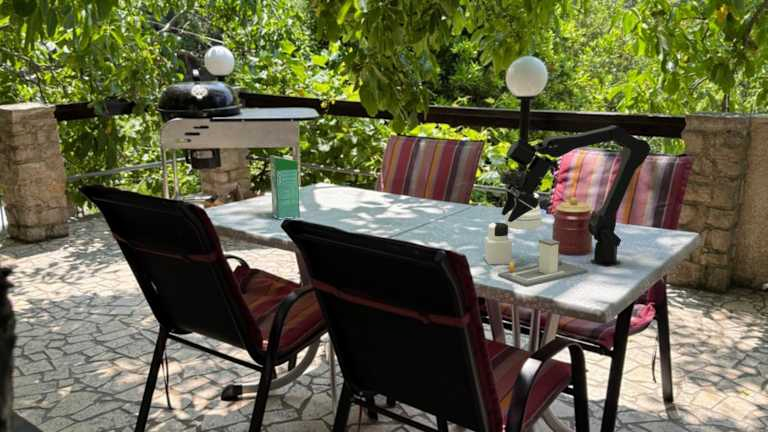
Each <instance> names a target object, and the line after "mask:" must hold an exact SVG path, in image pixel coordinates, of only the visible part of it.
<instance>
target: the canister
mask: <svg viewBox="0 0 768 432" xmlns="http://www.w3.org/2000/svg"><path fill="white" fill-rule="evenodd" d="M555 210H556V211H554V212H553V213H552V216H553V218H554V219H553V223H552V234H551V235H552V240H555V241H559V242H560V243H559V244H558V254H562V255H570V256H580V255H581V256H582V255H588V254H590V253H591V252H592V251H593V250H592V249H593V245H594V243H593V235H592V234H591V233H590V232H589V229H588V225H589V223H588V221H589V220H590V218H591V215H592V212H591V211H593V210H592V207H591V206H589V205H588V203H585V202H581V201H580V202H579V199H578V198H577V197H575V196H574V197H571V198H570V199H569V201H567V202H566V201H565V202H561V203H559V204H558V205H556V206H555Z"/></svg>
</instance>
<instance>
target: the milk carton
mask: <svg viewBox="0 0 768 432" xmlns="http://www.w3.org/2000/svg"><path fill="white" fill-rule="evenodd" d="M269 165H270V166H269V167H270V170H269V171H270V187H271V188H270V189H271V205H272V206H271V207H272V208H271V209H272V210H271V211H272V216H273V215H275V216H276V217H277V218H284V220H286V219H285V217H286V218H287V217H297V218H296V219H300V218H301V213H300V211H301V210H300V207H301V206H300V189H299V186H300V185H299V166H298V165H299V162H298V161H297V160H295V159H294V156H291V155H286V154H283V156H279V155H274V154H273V155H272V154H269Z"/></svg>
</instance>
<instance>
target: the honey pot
mask: <svg viewBox="0 0 768 432" xmlns="http://www.w3.org/2000/svg"><path fill="white" fill-rule="evenodd" d="M534 195H535V196H534V197H536V198H537V199H538V198H539V197H540V195H539V193H537V192H536V191H535V192H534ZM531 208H533V207H531ZM512 210H513V209H512ZM512 210H511V211H510V212H509V213H507V214H506V220H505V221H506V223H505V224H507V225H508V228H509V229H514V230H525V231H526V230H528V231H529V230H537V229H540V228H541V227H542V221H543V220H542V219H543V218H542V216H543V215H542V214H543V213H542V211H541V207H540V203H539V204H538V205H537V207H536V208H533V210H530V211H529V212H527V213H525V214H523V215H522V216H520V217H519V218H517V219H515V220H514V221H512V222H509V221H508V218H509V216H510V214H511V212H512ZM536 228H537V229H536Z"/></svg>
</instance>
